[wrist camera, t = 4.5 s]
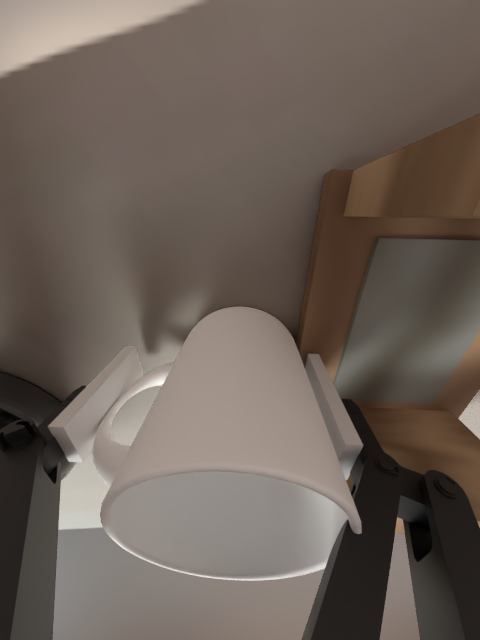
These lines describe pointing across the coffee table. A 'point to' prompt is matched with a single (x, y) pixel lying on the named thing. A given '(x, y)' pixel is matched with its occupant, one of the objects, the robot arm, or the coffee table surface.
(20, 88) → the coffee table surface
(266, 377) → the mug
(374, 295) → the cradle
